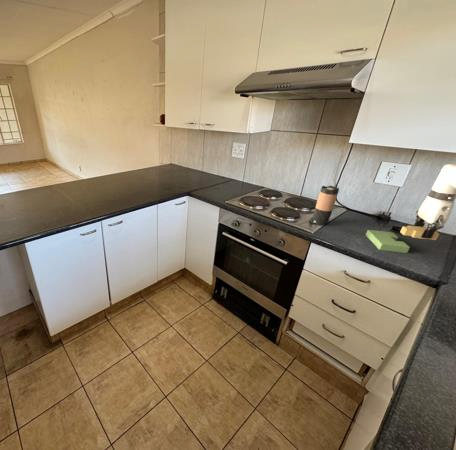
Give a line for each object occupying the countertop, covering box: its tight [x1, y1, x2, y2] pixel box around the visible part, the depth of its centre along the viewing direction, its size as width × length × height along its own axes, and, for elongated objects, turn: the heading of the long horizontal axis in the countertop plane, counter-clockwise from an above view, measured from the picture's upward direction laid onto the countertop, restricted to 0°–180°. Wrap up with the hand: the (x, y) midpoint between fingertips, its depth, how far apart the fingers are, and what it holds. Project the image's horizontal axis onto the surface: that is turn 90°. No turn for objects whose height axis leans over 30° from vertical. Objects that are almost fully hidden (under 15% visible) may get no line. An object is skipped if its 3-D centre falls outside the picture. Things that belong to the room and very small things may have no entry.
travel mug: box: [312, 185, 340, 227], centre depth 129 cm, size 8×8×20 cm
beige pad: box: [399, 225, 440, 241], centre depth 108 cm, size 11×6×3 cm, turn 73°
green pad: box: [365, 229, 411, 254], centre depth 113 cm, size 10×14×3 cm
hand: (421, 233), depth 108 cm, fingers closed on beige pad, 6 cm apart
